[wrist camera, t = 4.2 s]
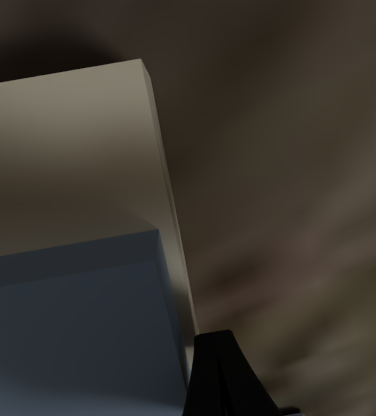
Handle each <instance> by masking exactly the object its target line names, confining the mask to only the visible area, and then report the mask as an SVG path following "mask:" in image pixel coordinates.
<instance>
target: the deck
mask: <svg viewBox="0 0 376 416" xmlns="http://www.w3.org/2000/svg"><path fill="white" fill-rule="evenodd" d="M155 229H159V231H160V235H161V240H162V244H163V249H164V253H165V258H166V262H167V267H168V271H169V276H170V281H171V285H172V290H173V294H174V299H175V303H176V308H177V312H178V317H179V321H180V326H181V330H182V335H183V339H184V344H185V349H186V353H187V358H188V362H189V367H190V371H191V369H192V362H193V353H194V337H195V336H196V335H199V331H198V326H197V321H196V315H195V310H194V305H193V300H192V294H191V289H190V284H189V279H188V273H187V268H186V263H185V258H184V252H183V247H182V242H181V237H180V231H179V226H178V221H177V215H176V210H175V205H174V200H173V194H172V189H171V184H170V179H169V173H168V168H167V163H166V158H165V152H164V147H163V142H162V137H161V131H160V126H159V121H158V116H157V110H156V105H155V100H154V94H153V89H152V84H151V79H150V76H149V74H148V72H147V70H146V68H145V66H144V64H143V62H142V60H141V59H136V60H130V61H124V62H118V63H113V64H107V65H101V66H95V67H89V68H83V69H77V70H72V71H66V72H60V73H54V74H48V75H42V76H36V77H31V78H25V79H19V80H13V81H7V82H1V83H0V256H4V255H10V254H15V253H21V252H27V251H33V250H39V249H45V248H50V247H56V246H62V245H68V244H74V243H80V242H85V241H91V240H97V239H103V238H109V237H115V236H120V235H126V234H132V233H138V232H144V231H150V230H155Z"/></svg>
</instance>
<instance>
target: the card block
mask: <svg viewBox="0 0 376 416" xmlns="http://www.w3.org/2000/svg"><path fill="white" fill-rule="evenodd" d="M190 375H191V371H190V367H189V362H188V358H187V353H186V349H185V344H184V339H183V335H182V330H181V326H180V321H179V317H178V312H177V308H176V303H175V299H174V294H173V290H172V285H171V281H170V276H169V271H168V267H167V262H166V258H165V253H164V249H163V244H162V240H161V235H160V231H159V229H155V230H150V231H144V232H138V233H132V234H126V235H120V236H115V237H109V238H103V239H97V240H91V241H85V242H80V243H74V244H68V245H62V246H56V247H50V248H45V249H39V250H33V251H27V252H21V253H15V254H10V255H4V256H0V416H182V414H183V410H184V406H185V401H186V396H187V391H188V386H189V381H190Z"/></svg>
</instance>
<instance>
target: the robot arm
mask: <svg viewBox="0 0 376 416" xmlns="http://www.w3.org/2000/svg"><path fill="white" fill-rule="evenodd" d="M225 407H226V411H227V415H228V416H284V415H283V414H282V413H281V411H280V410H279V409H278V407H277V406H276V404H275V403H274V402H273V400H272V399H271V397H270V396H269V394H268V393H267V391H266V390H265V388H264V387H263V385H262V384H261V382H260V381H259V379H258V378H257V376H256V375H255V373H254V371H253V370H252V368H251V367H250V365H249V363H248V362H247V360H246V358H245V356H244V355H243V353H242V351H241V349H240V347H239V345H238V343H237V341H236V339H235V337H234V335H233V332H232V331H231V330H229V329H228V330H222V331H216V332H210V333H204V334H199V335H196V336H195V337H194V353H193V362H192V369H191V375H190V381H189V386H188V391H187V396H186V401H185V406H184V410H183V414H182V416H226V411H225ZM285 416H305V415H304V414H302V413H296V414H291V415H285Z"/></svg>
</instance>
